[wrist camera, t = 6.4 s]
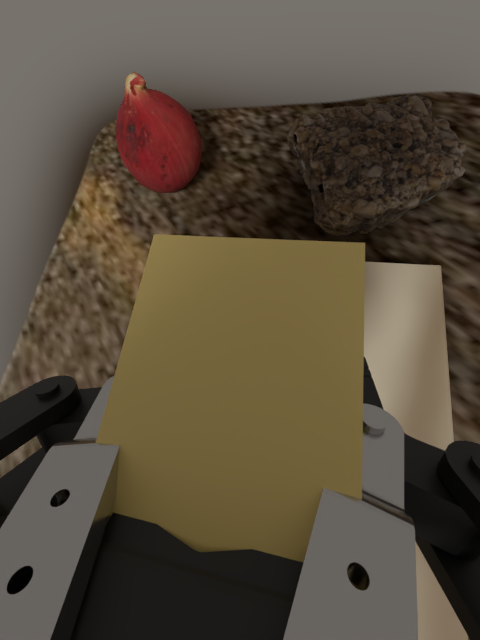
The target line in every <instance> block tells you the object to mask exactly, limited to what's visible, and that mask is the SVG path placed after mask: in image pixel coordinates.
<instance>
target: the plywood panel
mask: <svg viewBox="0 0 480 640" xmlns="http://www.w3.org/2000/svg"><path fill="white" fill-rule="evenodd" d="M364 357H365V358H366V361H367V364H368V367H369V370H370V372H371V375H372V378H373V381H374V384H375V386H376V389H377V392H378V395H379V398H380V401H381V403H382V406H383V409H384V410H385V411H387V412H388V413H390V414H391V415H392V416H393V417H394V418H395V419H396V420H397V421H398V422H399V423H400V425H401V426H402V428H403V431H404V433H405V434H407V435H409V436H411V437H413V438H415V439H417V440H419V441H422V442H424V443H427V444H430V445H432V446H435V447H437V448H440V449H442V450H446V448H447V447H448V445H449V444H450V443H452V442H454V439H453V425H452V412H451V398H450V384H449V370H448V357H447V343H446V329H445V316H444V302H443V288H442V274H441V266H438V265H419V264H400V263H381V262H365V297H364ZM415 546H416V580H417V613H418V640H468V635H467V633H466V631H465V629H464V628H463V626H462V624H461V622H460V620H459V619H458V617H457V615H456V613H455V611H454V610H453V608H452V606H451V604H450V602H449V601H448V599H447V597H446V595H445V593H444V592H443V590H442V588H441V586H440V584H439V583H438V581H437V579H436V577H435V575H434V574H433V572H432V570H431V568H430V567H429V565H428V563H427V561H426V559H425V558H424V556H423V554H422V552H421V550H420V549H419V547H418V545H417V543H416V541H415Z"/></svg>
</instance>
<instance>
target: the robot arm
mask: <svg viewBox="0 0 480 640" xmlns="http://www.w3.org/2000/svg"><path fill="white" fill-rule="evenodd" d="M113 379H114V376H113V377H112V378H110V379H109V380H108V381H107V382H106V383H105V384H104V385H103V387H100V388H89V389H78V386H77V384H76V381H75V380H74V379H73V378H72V377H69V376H55V377H51V378H47V379H44V380H42V381H40V382H38V383H36V384H34V385H32V386H30V387H28V388H26V389H25V390H23V391H21V392H19V393H17V394H15V395H14V396H12V397H10V398H8V399H6V400H5V401H3V402H1V403H0V460H2V459H3V458H5V457H6V456H7V455H9V454H10V453H12V452H13V451H15V450H16V449H18V448H19V447H20V446H22V445H23V444H25V443H26V442H28V441H29V440H31V439H32V438H33V437H35V436H36V437H37V438H38V440H39V442H40V444H41V446H42V448H41V449H39V450H38V451H37V452H35V453H34V454H33V455H31V456H30V457H29V458H27V459H26V460H25V461H23V462H22V463H20V464H19V465H18V466H16V467H15V468H14V469H12V470H11V471H10V472H8V473H7V474H6V475H4V476H3V477H1V478H0V640H418V613H417V580H416V546H415V541H416V543H417V545H418V547H419V549H420V550H421V552H422V554H423V556H424V558H425V559H426V561H427V563H428V565H429V567H430V568H431V570H432V572H433V574H434V575H435V577H436V579H437V581H438V583H439V584H440V586H441V588H442V590H443V592H444V593H445V595H446V597H447V599H448V601H449V602H450V604H451V606H452V608H453V610H454V611H455V613H456V615H457V617H458V619H459V620H460V622H461V624H462V626H463V628H464V629H465V631H466V633H467V635H468V637H469V638H470V640H480V444H477V443H473V442H469V441H455V442H452V443H450V444H449V445H448V447H447V448H446V450H442V449H440V448H437V447H435V446H432V445H430V444H427V443H424V442H422V441H419V440H417V439H415V438H413V437H411V436H409V435H407V434H405V433H404V431H403V428H402V426H401V425H400V423H399V422H398V421H397V420H396V419H395V418H394V417H393V416H392V415H391V414H390V413H388V412H387V411H385V410H384V409H383V406H382V403H381V401H380V398H379V395H378V392H377V389H376V386H375V384H374V381H373V378H372V375H371V372H370V370H369V367H368V364H367V361H366V358H365V357H364V371H363V446H362V499H359V498H356V497H353V496H349V495H346V494H343V493H339V492H336V491H333V490H329V489H325V488H323V492H322V495H321V499H320V503H319V507H318V510H317V514H316V518H315V522H314V525H313V529H312V533H311V537H310V540H309V544H308V548H307V552H306V555H305V559H304V563H303V562H300V561H296V560H292V559H288V558H284V557H281V556H277V555H273V554H269V553H265V552H262V551H258V550H254V549H246V550H230V551H214V552H198V551H196V550H194V549H192V548H191V547H189V546H188V545H186V544H185V543H184V542H182V541H181V540H179V539H178V538H176V537H175V536H173V535H172V534H170V533H169V532H168V531H166V530H165V529H163V528H162V527H160V526H159V525H157V524H155V523H151V522H147V521H144V520H140V519H136V518H132V517H128V516H125V515H121V514H117V513H113V514H112V516H111V517H110V519H109V521H108V517H109V514H110V511H111V508H112V506H113V504H114V502H115V500H116V490H117V477H118V463H119V450H120V446H118V445H112V444H102V443H96V440H97V436H98V432H99V429H100V425H101V422H102V418H103V415H104V411H105V408H106V404H107V401H108V397H109V393H110V390H111V386H112V383H113ZM107 521H108V523H107ZM350 581H351V582H352V583H353V584H354V585H355V586H356V587H357V588H358V589H357V588H355V587H354V586H353V585H352V584H351V582H350Z"/></svg>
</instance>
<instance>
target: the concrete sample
mask: <svg viewBox="0 0 480 640" xmlns="http://www.w3.org/2000/svg"><path fill="white" fill-rule="evenodd" d="M431 105H432V102H431V101H430V100H429V99H428V98H426V97H422V96H421V95H420V94H418V95H412V96H410V97H409V96H408V95H406V96H401V97H398V98H397V97H395V98H394V99H393V100H391V101H389V102H388V103H386V104H375V103H370V102H369V103H367V104H366V105H365V106H359V107H352V106H345V107H340V108H339V107H334V108H332V109H331V108H326V109H323V110H321V111H320V112H319V113H317V114H316V115H314V116H310V117H309V116H307V115H305V114H304V115H303V116H302V117H301V118H298V119H296V120H295V122H294V124H293V126H292V127H291V129H290V131H289V133H288V135H287V140H288V145H289V147H290V149H291V151H292V153H293V154H294V155H295V156H297V157H298V163H300V164H301V165H300V167H301V170H299V169H298V170H299V173H300V174H302V177H303V179H304V181H305V183H306V184H305V185H306V186H307V187H308V189H310V194H311V198H312V202H313V205H314V207H313V209H314V222H315V223H316V224H318V225H319V226H320V227H321V228H322V229H323V230H324V231H326V232H327V233H329V234H331V235H334V236H341V235H349V234H351V233H353V232H357V231H359V232H360V233H361V234H367V233H368V232H371V231H372V230H373V229H375V228H379V229H381V228H383V227H385V226H386V225H389V224H393V223H394V222H395V221H397V220H398V219H399V218H400V217H401V216H403V215H404V214H405V213H406V212H407V211H408V210H410V209H415V208H416V207H417V206H419V205H420V204H422V203H425V202H427V201H429V200H430V199H432V198H433V197H434V196H436V195H437V194H439V193H440V192H442V191H444V190H445V189H446V188H448V187H449V186H450V185H451V183H452V182H453V181H454V180H456V179H457V178H459V177H460V176H462V175H463V174H464V172H465V170H466V169H464V168H462V167H461V164H462V163H463V156H464V155H463V153H464V152H465V151H466V150H467V149H468V148H467V146H466V144H463V143H460V141H459V139H458V137H457V135H456V134H455V133H454V132H453V131H452V130H451V129H450V127H449V123H448V121H447V120H446V119H440V118H438V119H436V118H434V117H432V111H431Z"/></svg>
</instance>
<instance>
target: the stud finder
mask: <svg viewBox="0 0 480 640" xmlns="http://www.w3.org/2000/svg"><path fill="white" fill-rule="evenodd" d="M364 297H365V243H356V242H331V241H306V240H281V239H256V238H231V237H206V236H180V235H155V234H154V237H153V241H152V244H151V248H150V251H149V255H148V258H147V262H146V266H145V269H144V273H143V276H142V280H141V283H140V287H139V290H138V294H137V298H136V301H135V305H134V308H133V312H132V315H131V319H130V322H129V326H128V330H127V333H126V337H125V340H124V344H123V347H122V351H121V354H120V358H119V361H118V365H117V369H116V372H115V376H114V379H113V383H112V386H111V390H110V393H109V397H108V401H107V404H106V408H105V411H104V415H103V418H102V422H101V425H100V429H99V432H98V436H97V440H96V443H102V444H112V445H118V446H120V450H119V463H118V477H117V490H116V500H115V502H114V504H113V506H112V508H111V511H110V514H109V517H108V521H109V519H110V517H111V516H112V514H113V513H117V514H121V515H125V516H128V517H132V518H136V519H140V520H144V521H147V522H151V523H155V524H157V525H159V526H160V527H162V528H163V529H165V530H166V531H168V532H169V533H170V534H172V535H173V536H175V537H176V538H178V539H179V540H181V541H182V542H184V543H185V544H186V545H188V546H189V547H191V548H192V549H194V550H196V551H198V552H214V551H230V550H246V549H254V550H258V551H262V552H265V553H269V554H273V555H277V556H281V557H284V558H288V559H292V560H296V561H300V562H303V563H304V559H305V555H306V552H307V548H308V544H309V540H310V537H311V533H312V529H313V525H314V522H315V518H316V514H317V510H318V507H319V503H320V499H321V495H322V492H323V488H325V489H329V490H333V491H336V492H339V493H343V494H346V495H349V496H353V497H356V498H359V499H362V446H363V371H364ZM108 521H107V523H108ZM350 582H351V581H350ZM351 584H352V585H353V586H354V587H355V588H357V587H356V586H355V585H354V584H353V583H352V582H351ZM357 589H358V588H357Z"/></svg>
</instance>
